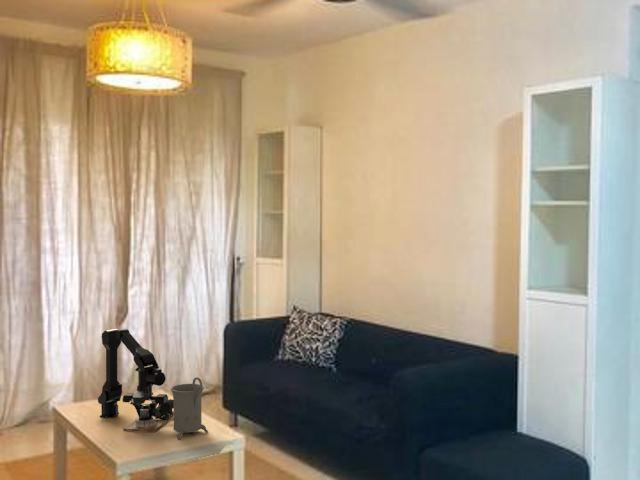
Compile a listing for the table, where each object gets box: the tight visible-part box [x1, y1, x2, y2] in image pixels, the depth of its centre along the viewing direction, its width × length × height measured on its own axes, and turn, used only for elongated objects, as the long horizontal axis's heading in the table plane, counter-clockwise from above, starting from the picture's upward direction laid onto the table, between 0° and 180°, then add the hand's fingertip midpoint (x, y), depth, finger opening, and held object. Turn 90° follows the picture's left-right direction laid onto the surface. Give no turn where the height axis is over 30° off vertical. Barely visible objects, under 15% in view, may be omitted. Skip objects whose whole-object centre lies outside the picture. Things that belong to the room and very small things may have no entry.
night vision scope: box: [153, 398, 174, 421], centre depth 302 cm, size 8×18×10 cm
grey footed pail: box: [170, 376, 209, 441], centre depth 279 cm, size 19×15×25 cm
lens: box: [140, 403, 151, 421], centre depth 289 cm, size 5×5×7 cm
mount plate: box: [123, 416, 168, 433], centre depth 289 cm, size 14×14×4 cm
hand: (145, 417), depth 289 cm, fingers closed on lens, 5 cm apart
